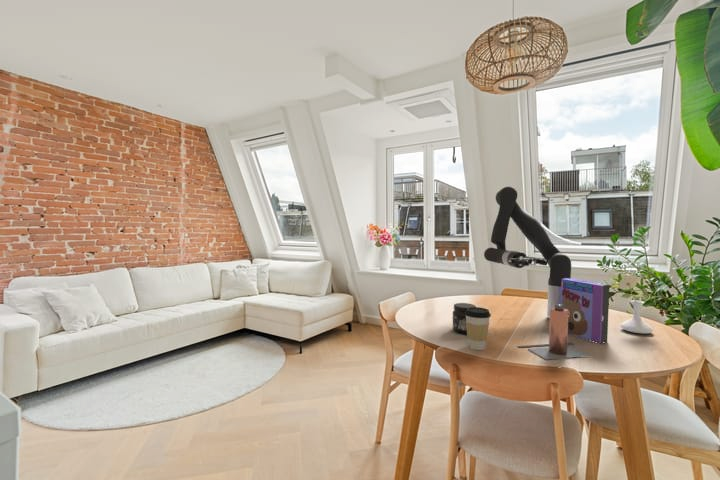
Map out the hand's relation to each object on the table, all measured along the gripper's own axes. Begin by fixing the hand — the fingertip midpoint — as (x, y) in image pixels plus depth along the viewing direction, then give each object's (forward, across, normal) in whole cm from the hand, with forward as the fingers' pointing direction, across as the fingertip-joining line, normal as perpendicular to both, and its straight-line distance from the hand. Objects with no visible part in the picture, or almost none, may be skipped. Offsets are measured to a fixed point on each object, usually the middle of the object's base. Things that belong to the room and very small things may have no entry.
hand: (537, 263), depth 147 cm
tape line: (+9, -2, +32) cm, 33 cm away
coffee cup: (+6, -30, +32) cm, 44 cm away
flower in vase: (0, +49, +32) cm, 59 cm away
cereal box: (+2, +21, +32) cm, 38 cm away
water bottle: (+17, -3, +32) cm, 36 cm away
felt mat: (+17, -3, +32) cm, 36 cm away
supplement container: (-13, -26, +32) cm, 43 cm away
